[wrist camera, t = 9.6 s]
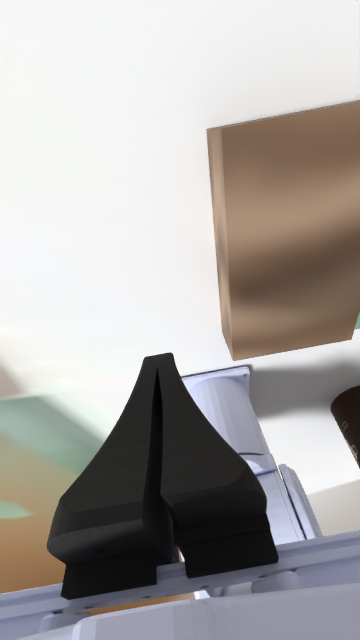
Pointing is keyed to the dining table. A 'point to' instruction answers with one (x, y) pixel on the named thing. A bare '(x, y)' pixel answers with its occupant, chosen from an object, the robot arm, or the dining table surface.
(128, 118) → the dining table surface
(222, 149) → the brown flat block
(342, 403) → the coffee mug
